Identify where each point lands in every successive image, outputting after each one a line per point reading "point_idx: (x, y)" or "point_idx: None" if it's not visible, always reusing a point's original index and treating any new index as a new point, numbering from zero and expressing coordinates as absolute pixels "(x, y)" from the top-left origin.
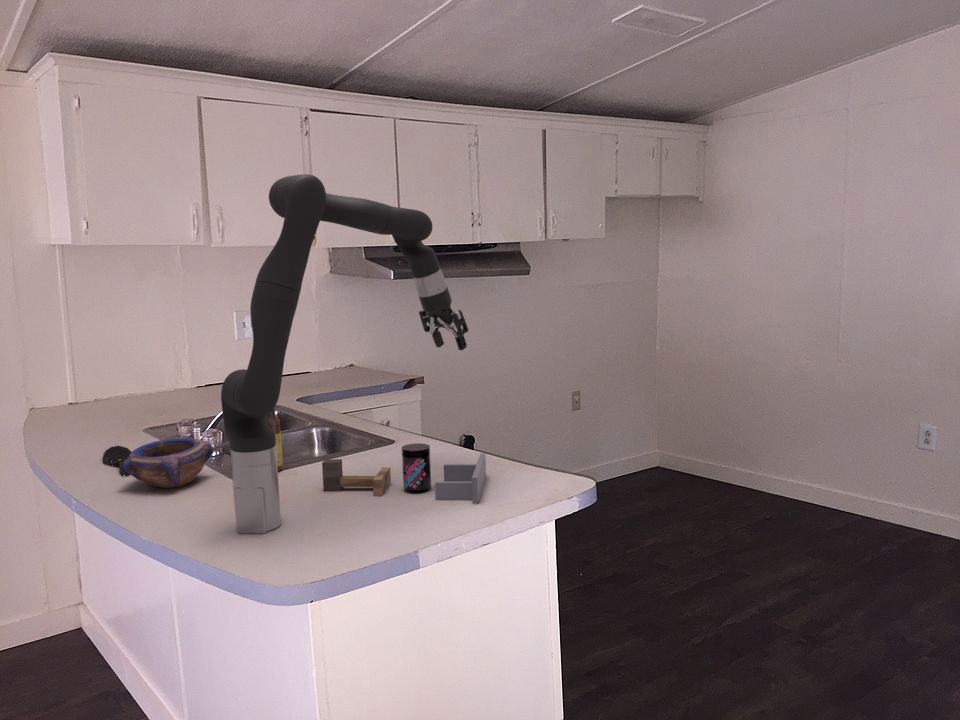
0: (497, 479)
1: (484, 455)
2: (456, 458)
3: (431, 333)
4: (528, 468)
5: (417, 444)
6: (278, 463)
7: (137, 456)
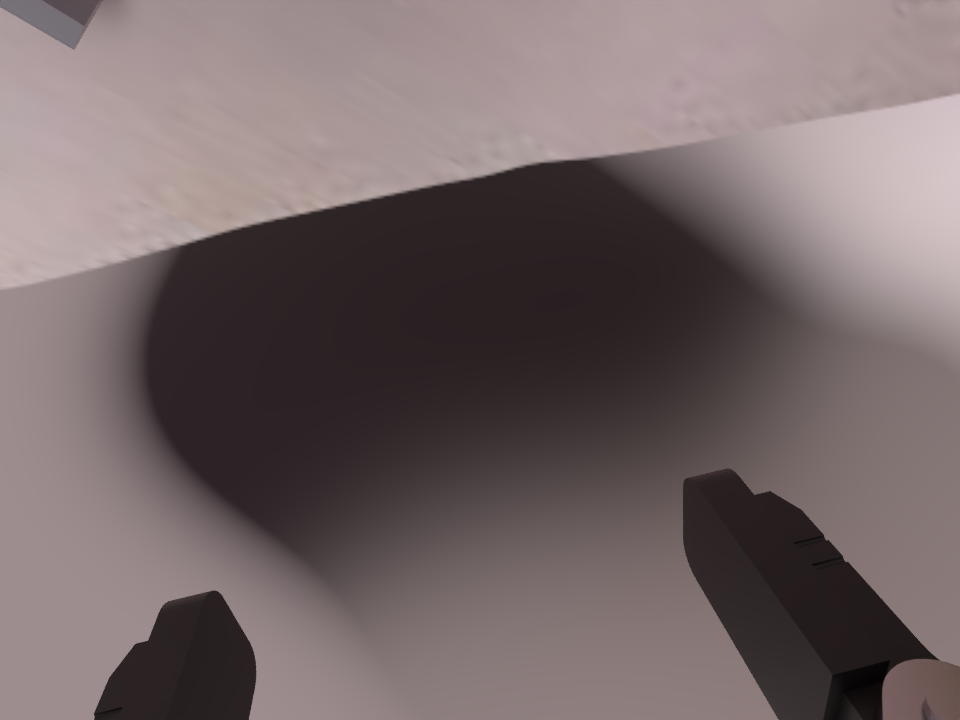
0: None
1: (22, 18)
2: (478, 61)
3: (926, 704)
4: (170, 216)
5: None
6: None
7: None
